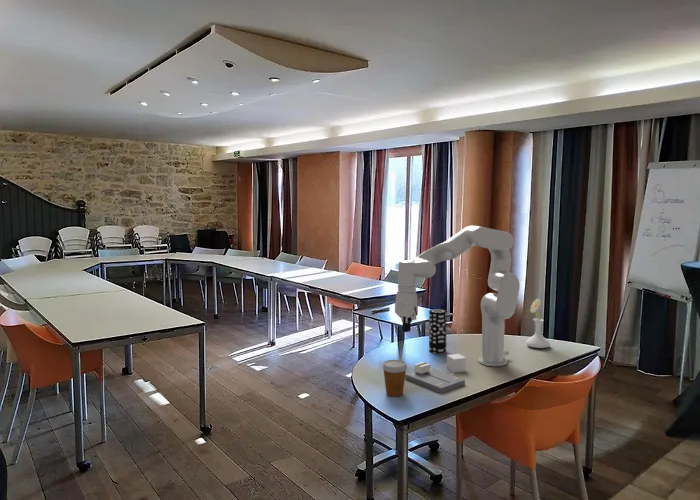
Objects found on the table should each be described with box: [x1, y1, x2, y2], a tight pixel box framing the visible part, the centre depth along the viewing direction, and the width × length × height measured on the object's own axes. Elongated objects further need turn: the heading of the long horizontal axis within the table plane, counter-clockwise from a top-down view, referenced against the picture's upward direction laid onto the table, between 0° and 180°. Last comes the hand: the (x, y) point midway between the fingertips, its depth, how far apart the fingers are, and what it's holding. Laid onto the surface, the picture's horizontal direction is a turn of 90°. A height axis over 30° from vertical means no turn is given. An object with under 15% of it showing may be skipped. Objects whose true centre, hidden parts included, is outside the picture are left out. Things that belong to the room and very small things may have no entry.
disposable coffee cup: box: [381, 359, 408, 398], centre depth 193 cm, size 10×10×12 cm
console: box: [405, 366, 466, 394], centre depth 206 cm, size 14×20×2 cm
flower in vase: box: [525, 298, 551, 349], centre depth 249 cm, size 13×11×25 cm
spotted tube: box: [428, 308, 448, 355], centre depth 245 cm, size 8×8×20 cm
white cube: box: [446, 353, 467, 373], centre depth 219 cm, size 6×6×6 cm
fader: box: [413, 361, 431, 374], centre depth 211 cm, size 5×4×3 cm
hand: (406, 331), depth 216 cm, fingers closed
